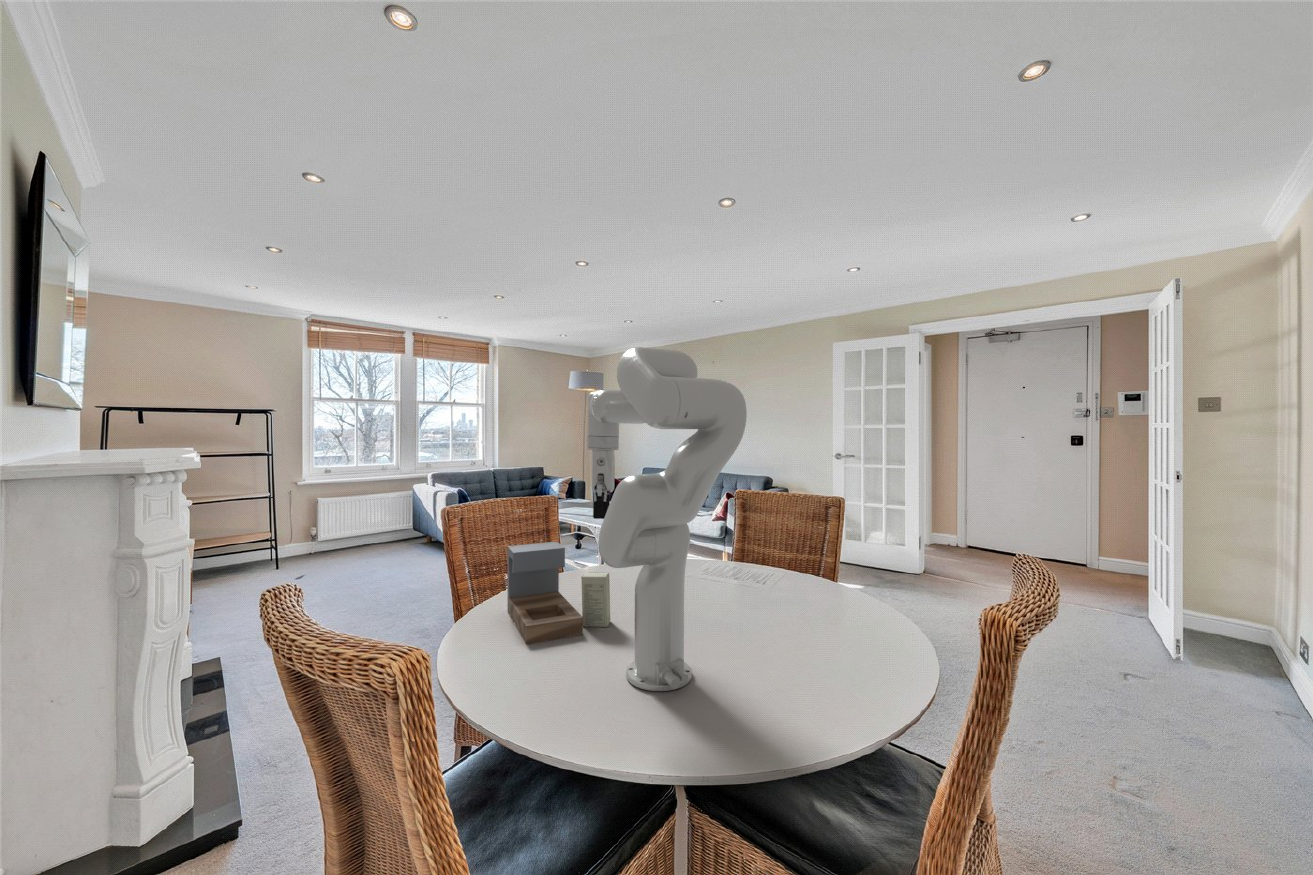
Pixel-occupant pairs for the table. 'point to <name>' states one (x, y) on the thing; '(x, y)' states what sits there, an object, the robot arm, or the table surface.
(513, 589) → the grey overhang panel
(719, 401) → the robot arm
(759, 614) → the table surface
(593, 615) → the skincare box
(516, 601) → the socket block
